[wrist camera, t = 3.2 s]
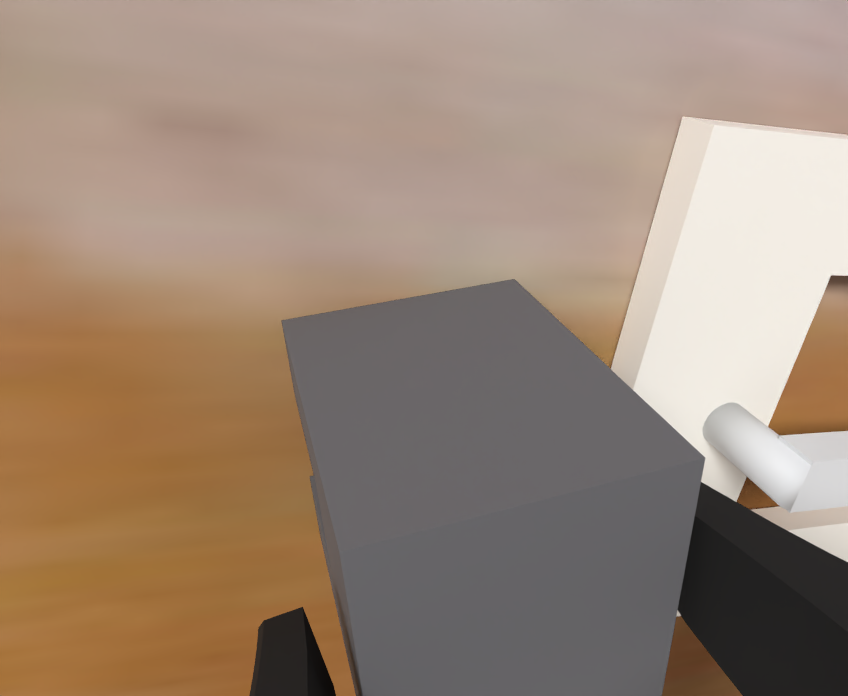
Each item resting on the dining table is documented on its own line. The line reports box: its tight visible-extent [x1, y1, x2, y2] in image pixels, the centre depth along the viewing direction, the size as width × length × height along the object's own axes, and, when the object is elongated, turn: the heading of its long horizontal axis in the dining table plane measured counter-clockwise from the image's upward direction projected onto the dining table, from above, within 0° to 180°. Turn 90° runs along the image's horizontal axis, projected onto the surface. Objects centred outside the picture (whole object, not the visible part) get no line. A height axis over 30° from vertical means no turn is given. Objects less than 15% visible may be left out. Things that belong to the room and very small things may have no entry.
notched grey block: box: [282, 279, 705, 696], centre depth 13 cm, size 6×5×6 cm
